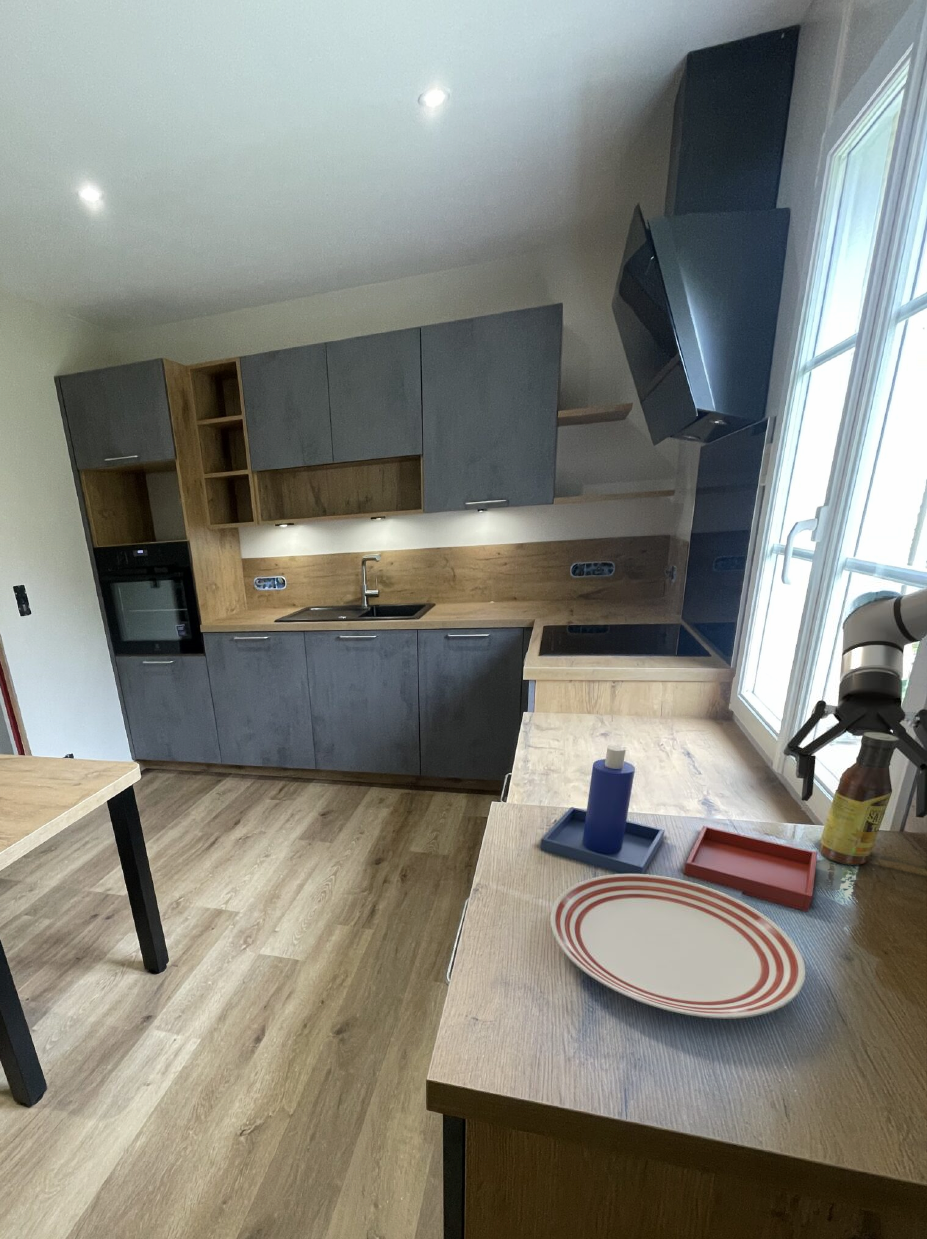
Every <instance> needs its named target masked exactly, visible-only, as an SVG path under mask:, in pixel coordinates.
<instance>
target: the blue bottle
mask: <svg viewBox="0 0 927 1239" xmlns="http://www.w3.org/2000/svg"><path fill="white" fill-rule="evenodd" d="M626 750H627V748H626V747H624V746H622V745H620V744H619V745H617V744H609V745H608V746H607V747H606V755H605V758H603V759H598V760H595V761H594V762H592V769H591V776H590V784H589V791H588V798H587V804H586V811H587V812H586V819H585V827H584V834H583V841H582V843H583V845H584V846H585V847H586V848H587V849H589V850H591V851H593V852H596V853H601V854H615V853H618V852H620V851H621V849H622V845H623V839H624V833H625V827H626V821H628V814H629V808H630V802H631V797H632V789H633V784H634V778H635V772H636V767H635V766H634V764H632V763H630V762H628V761H626V760H625V758H626Z"/></svg>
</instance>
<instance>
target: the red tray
mask: <svg viewBox="0 0 927 1239" xmlns="http://www.w3.org/2000/svg"><path fill="white" fill-rule="evenodd" d="M817 857H818V851H813V850H809V849H805V848H801V847H796V846H792V845H788V844H784V843H779V842H775V841H771V840H766V839H762V838H758V837H754V836H749V835H745V834H740V833H737V832H731V831H727V830H724V829H719V828H715V827H710V826H706V825H703V826H702V828H701V830H700V832H699V834H698V836H697V839H696V841H695V842H694V845H693V847H692V849H691V851H690V854H689V855H688V858H687V860H686V862H685V865H684V870H683V876H688V877H691V878H695V879H699V880H701V881H705V882H709V883H712V884H715V885H718V886H719V885H720V886H723V887H726V888H730V889H734V890H738V891H740V892H741V891H742V893H741V894H742V895H745V896H749V897H753V898H756V899H760V900H763V901H767V902H771V903H774V904H777V905H782V906H785V907H789V908H792V909H796V910H800V911H802V912H806V913H808V912H809V908H810V905H811V902H812V899H813V894H814V884H815V876H816V868H817Z"/></svg>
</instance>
